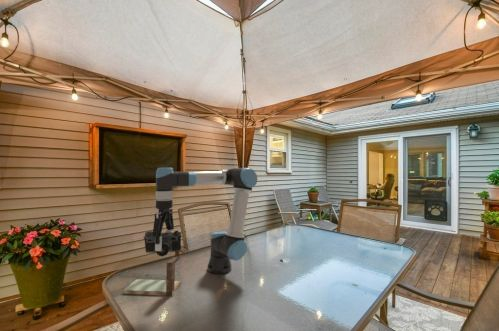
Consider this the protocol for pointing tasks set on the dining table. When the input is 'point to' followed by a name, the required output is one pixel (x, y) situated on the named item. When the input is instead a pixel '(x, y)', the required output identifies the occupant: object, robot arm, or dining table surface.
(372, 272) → the dining table surface
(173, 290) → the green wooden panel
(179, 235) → the camera
